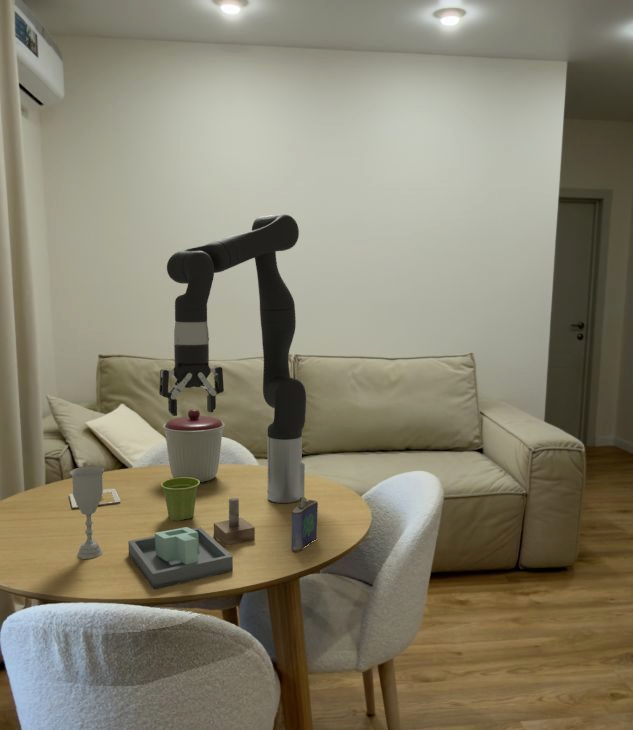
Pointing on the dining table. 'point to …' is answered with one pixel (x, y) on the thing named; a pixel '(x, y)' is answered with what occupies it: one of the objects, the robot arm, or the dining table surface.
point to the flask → (304, 524)
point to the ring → (178, 545)
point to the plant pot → (180, 497)
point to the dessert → (100, 499)
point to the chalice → (88, 503)
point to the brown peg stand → (234, 527)
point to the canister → (194, 445)
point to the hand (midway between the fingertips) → (192, 413)
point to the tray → (175, 571)
